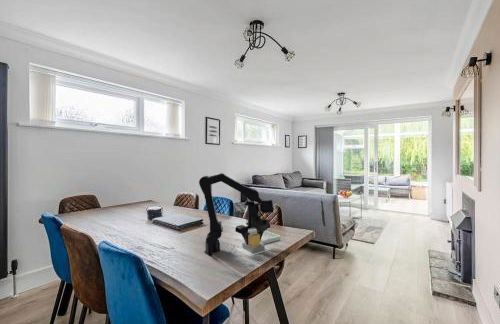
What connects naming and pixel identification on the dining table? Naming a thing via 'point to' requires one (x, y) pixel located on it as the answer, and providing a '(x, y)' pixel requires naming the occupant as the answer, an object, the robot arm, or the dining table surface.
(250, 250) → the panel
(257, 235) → the tan rectangular block
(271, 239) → the parts tray
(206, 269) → the dining table surface
